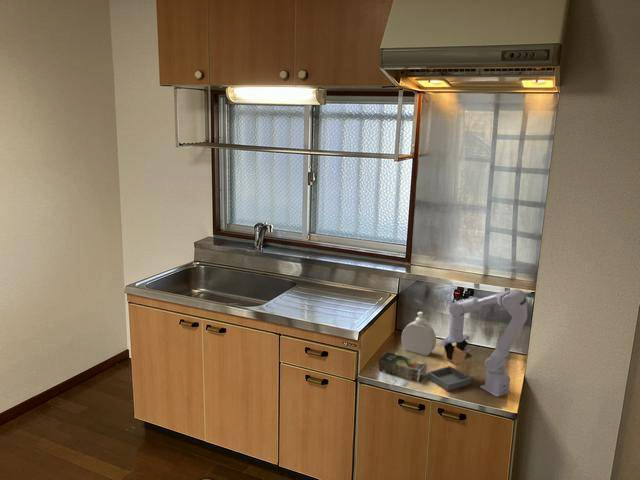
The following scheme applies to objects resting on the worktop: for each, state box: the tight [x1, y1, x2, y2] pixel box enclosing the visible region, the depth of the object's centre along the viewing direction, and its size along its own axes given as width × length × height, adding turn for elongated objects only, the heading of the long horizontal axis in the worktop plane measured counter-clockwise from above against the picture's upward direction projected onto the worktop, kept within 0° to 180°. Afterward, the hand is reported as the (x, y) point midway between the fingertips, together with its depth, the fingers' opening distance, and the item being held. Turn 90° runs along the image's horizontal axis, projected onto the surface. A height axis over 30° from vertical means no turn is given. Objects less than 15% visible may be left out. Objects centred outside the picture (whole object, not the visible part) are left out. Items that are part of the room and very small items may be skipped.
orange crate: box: [442, 347, 466, 366], centre depth 242 cm, size 8×5×5 cm, turn 29°
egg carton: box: [453, 345, 470, 357], centre depth 264 cm, size 11×8×4 cm
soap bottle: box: [400, 311, 437, 357], centre depth 265 cm, size 16×5×20 cm, turn 58°
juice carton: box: [378, 352, 428, 383], centre depth 245 cm, size 20×10×6 cm, turn 57°
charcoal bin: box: [426, 365, 472, 393], centre depth 238 cm, size 13×13×3 cm
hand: (454, 357), depth 242 cm, fingers closed on orange crate, 5 cm apart
